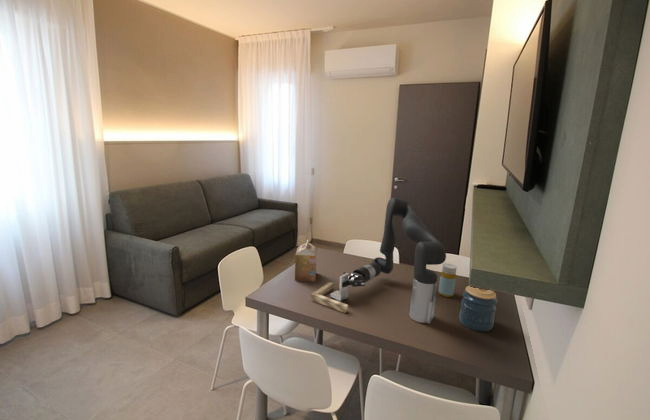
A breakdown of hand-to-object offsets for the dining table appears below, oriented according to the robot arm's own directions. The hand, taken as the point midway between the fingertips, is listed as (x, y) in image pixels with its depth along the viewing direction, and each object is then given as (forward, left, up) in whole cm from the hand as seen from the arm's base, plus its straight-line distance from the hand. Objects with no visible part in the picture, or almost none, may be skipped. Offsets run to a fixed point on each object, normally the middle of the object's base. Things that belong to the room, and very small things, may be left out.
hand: (341, 284), depth 140 cm
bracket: (+2, -3, -8) cm, 9 cm away
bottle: (-38, -39, -9) cm, 55 cm away
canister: (-54, -20, -9) cm, 58 cm away
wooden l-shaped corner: (+2, -1, -8) cm, 9 cm away
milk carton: (+28, -12, -9) cm, 32 cm away
